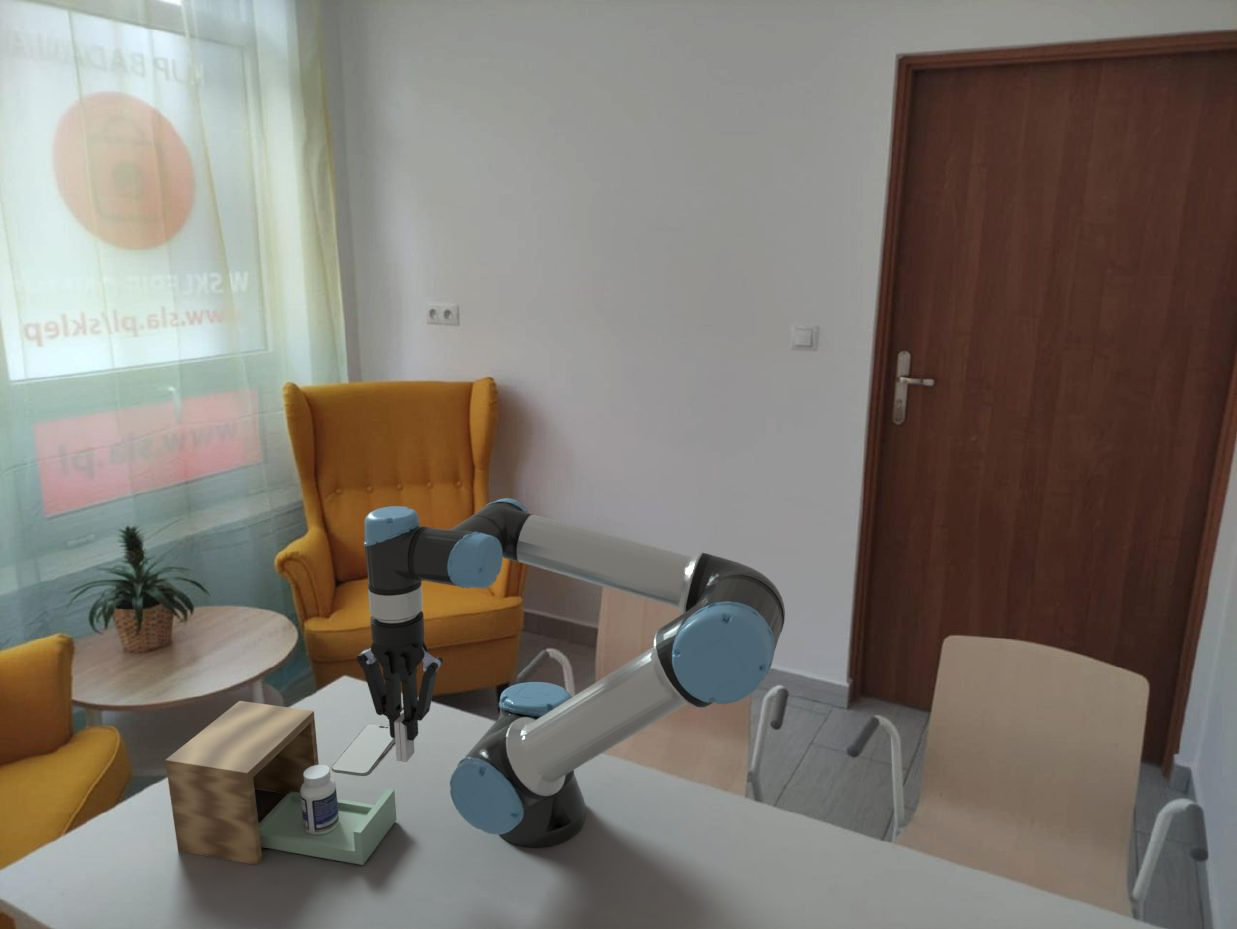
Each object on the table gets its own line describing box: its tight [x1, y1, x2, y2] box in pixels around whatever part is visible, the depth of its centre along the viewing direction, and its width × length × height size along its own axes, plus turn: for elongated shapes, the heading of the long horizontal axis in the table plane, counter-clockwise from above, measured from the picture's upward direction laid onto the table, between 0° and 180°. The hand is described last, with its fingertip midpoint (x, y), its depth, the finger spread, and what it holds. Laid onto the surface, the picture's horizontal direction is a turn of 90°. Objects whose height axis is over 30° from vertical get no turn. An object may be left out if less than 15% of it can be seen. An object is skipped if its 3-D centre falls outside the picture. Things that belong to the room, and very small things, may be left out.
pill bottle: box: [300, 764, 339, 835], centre depth 143 cm, size 5×5×10 cm
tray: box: [258, 788, 397, 866], centre depth 144 cm, size 19×11×6 cm, turn 77°
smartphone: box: [331, 723, 395, 776], centre depth 167 cm, size 7×1×15 cm
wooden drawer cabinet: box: [164, 700, 320, 866], centre depth 145 cm, size 14×18×16 cm
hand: (405, 756), depth 137 cm, fingers closed
